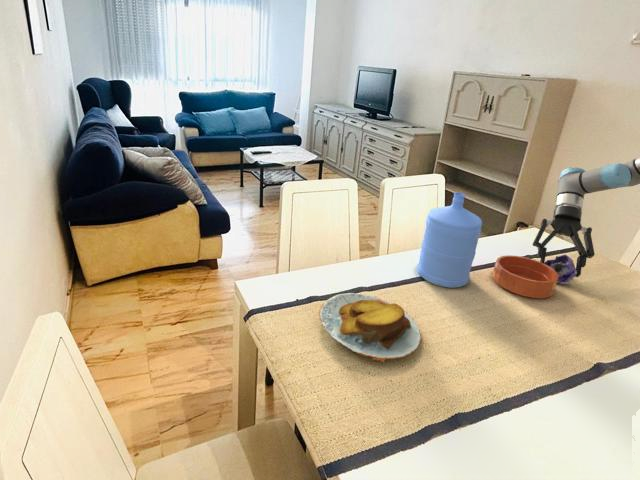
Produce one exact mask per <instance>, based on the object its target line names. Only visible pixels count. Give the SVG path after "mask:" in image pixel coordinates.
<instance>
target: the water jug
mask: <svg viewBox="0 0 640 480" xmlns="http://www.w3.org/2000/svg"><path fill="white" fill-rule="evenodd" d="M465 197H466V194H465V193H463V192H454V193H453V197H452V202H451V205H446V206H440V207H435V208H432V209H430V210H429V211H428V213H427V216H426V219H425V229H424V234H423V239H422V241H421V247H420V249H421V250H420V254H419V258H418V262H417V267H416V269H417V273H418V275H420V277H421V278H422V279H424V280H425V281H427V282H429V283H431V284H432V285H435V286H438V287H443V288H448V289H449V288H453V289H454V288H455V289H456V288H461V287H464V286H466V285H467V284H468V283H469V280H470V276H471V271H472V266H473V262H474V259H475V256H476V253H477V252H476V250H477V245H478V242H479V238H480V235H481V233H482V226H483V220H482V219H481V218H480V217H479V216H478V215H476V214H475V213H473V212H471V211H469V210H468V209H466V208H464V203H465Z"/></svg>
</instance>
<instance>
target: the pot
mask: <svg viewBox="0 0 640 480" xmlns="http://www.w3.org/2000/svg"><path fill="white" fill-rule="evenodd" d="M491 275H492V279H493V281H494V282H495V283H496V284H497V285H499V286H500V287H501V288H503V289H505V290H507V291H508V292H511V293H513V294H516V295H519V296H523V297H527V298H532V299H545V298H549V297H551V296H553V295H554V292H555V289H556V286H557V284H558V283H557V281H558V277H559V276H558V274H557V272H556V271H555V270H553V269H552V268H551V267H549V266H547V265H545V264H544V263H541V262H540V260H536V259H533V258H529V257H525V256H520V255H501V256H499V257H497V259H496V260H495V264H494V268H493V271H492V274H491Z"/></svg>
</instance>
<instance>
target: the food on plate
mask: <svg viewBox="0 0 640 480" xmlns="http://www.w3.org/2000/svg"><path fill="white" fill-rule="evenodd" d="M318 317H319V321H320V322H321V324H322V325H321V326H323V327H324V330H325V331H326V332H327V333H328V334H329V335H330V337H331V338H333V339H334V340H336V341H337V342H338V343H339V344H342V345H343V346H345V347H346V348H347V349H350V350H351V352H353V353H354V352H355V353H357V355H360V356H363V357H371V359H372V360H373V361H379V360H380V362H385V360H389V361H390V360H394V359H399V358H400V359H401V358H405V357H408V356H409V355H410V354H413V353H414V352H415V351H416V349H417V348H418V347H419V346H420V341H421V340H422V338H421V336H422V335H421V334H420V333H421V330H420V329H419V328H418V325H417V324H416V322H415V320H414V318H412V316H410V315H409V314H408V312H407V311H405V310H404V308H402V306H400V305H399V304H397V303H391V302H388V301H385V300H383V299H382V298H380V297H379V298H378V297H377V296H374V295H370V294H363V293H356V292H348V293H339V294H335V295H333V296H331V297H329V298H327V300H325V302H323V303H322V304H321V306H320V309H319V311H318Z"/></svg>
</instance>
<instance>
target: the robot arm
mask: <svg viewBox="0 0 640 480" xmlns="http://www.w3.org/2000/svg"><path fill="white" fill-rule="evenodd" d="M557 184H558V185H557V193H556V197H555V203H554V210H553V217H552V219H551V220H548V219H547V218H543V219H542V220H541V222H540V228H539V230H538V232H537V234H536V236H535V238H534V240H533V242H532V246H533V247H536V248H537V253H536V254H537V255H536V256H537V258H540V260H539V262H541V263H545V262H546V256H547V249H548V247H546V246H547V245H548V244H549V242H551V240H553V238H554V237H555V236H556V235H559V236H565V237H567V238H568V237H569V238H570V240H571V241H572V244H574V247H575V249H576V251H577V254H578V256H577V258H576V263H575V268H576V270H577V275H576V276H575V277H574V278H579V277H580V276H581V274H582V268H585V267H586V265H587V259H592V258H593V257H594V256H595V255H596V254H595V249H594V244H593V239H592V231H593V228H592V227H590V226H589V227H584V226H582V223H581V222H582V214H583V212H582V211H583V206H584V199H585V195H586V194H592V193H598V192H603V191H608V190H616V189H621V188H629V187H634V186H635V187H636V186H637V185H640V156H639V157H636V158H634V159H632V160H630V161H627V162H625V163H621V162H619V163H614V164H613V163H612V164H607V165H605V166H601V167H600V166H599V167H597V168H594V169H589V170H585V169H584V168H581V167H578V166H577V167H567V168H564V169H563V170H562V171H561V172H560V174H559V178H558V180H557ZM549 226H551V227H552V229H553V230H552V231H551V232H550V234H548V236H547V237H545V238H544V239H543V240H542V242H540V240H541V238H542V236H543V234H544V233H545V231H546V229H547V228H548V227H549ZM579 231H581V234H582V235H583V241H584V244H583V242H582V241H581V238H580V235H579Z"/></svg>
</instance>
